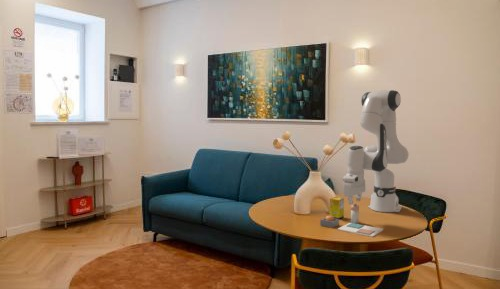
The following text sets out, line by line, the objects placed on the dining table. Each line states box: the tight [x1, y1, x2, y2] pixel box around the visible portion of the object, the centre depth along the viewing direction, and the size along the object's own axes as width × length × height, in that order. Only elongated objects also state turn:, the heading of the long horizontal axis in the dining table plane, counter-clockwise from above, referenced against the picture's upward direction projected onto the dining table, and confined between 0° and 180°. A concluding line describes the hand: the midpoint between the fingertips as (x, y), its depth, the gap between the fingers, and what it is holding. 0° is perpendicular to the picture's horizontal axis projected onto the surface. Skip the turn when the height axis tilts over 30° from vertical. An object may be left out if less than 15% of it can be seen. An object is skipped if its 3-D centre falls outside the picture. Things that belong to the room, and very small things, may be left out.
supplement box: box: [329, 196, 345, 220], centre depth 222 cm, size 6×6×11 cm
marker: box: [350, 203, 360, 224], centre depth 212 cm, size 4×4×10 cm
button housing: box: [319, 217, 340, 229], centre depth 207 cm, size 7×7×3 cm
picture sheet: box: [337, 222, 384, 238], centre depth 199 cm, size 14×18×1 cm
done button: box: [325, 215, 334, 221], centre depth 207 cm, size 4×4×3 cm
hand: (354, 202), depth 211 cm, fingers open, 8 cm apart
